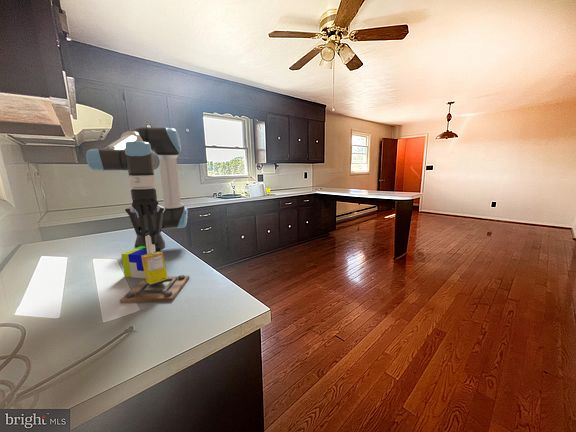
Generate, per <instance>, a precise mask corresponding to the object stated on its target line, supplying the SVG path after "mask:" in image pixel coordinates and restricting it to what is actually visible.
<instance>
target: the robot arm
mask: <svg viewBox="0 0 576 432" xmlns="http://www.w3.org/2000/svg"><path fill="white" fill-rule="evenodd" d="M181 143H182V142H181V138H180V135H179V133H178V130H176V129H175V128H170V127H153V126H152V127H150V126H148V127H147V126H140V127H135V128H132V129H129V130H126V131H124V132H123V133H122V134H121V135H120V138H119V139H117V140H115V141H113V142H112V143H110V144H109V145H107V146H106V147H104V148H90V149H88V150H87V151H86V154H85V159H86V163H87V166H88V167H89V168H90V169H91V170H92V171H103V172H106V171H107V172H110V171H119V172H120V171H128V179H129V186H130V188H132V189H130V194H131V200H132V202H131V206H129V207H128V208H125V213H126V214H127V215H128V217H129V220H130V222H131V224H132V227H133V229H134V231H135V234H136V239H135V242H134V247H133V249H135V248H137V247H140V246H145V247H146V248H147V254H153V253H154V252H155V251H156V250H155V247H158V248H160V250H162V249H165V247H166V241H165V239H164V238H163V236H162V230H171V229H182V228H186V226H187V223H188V213H189V211H188V207H185V204H184V203H183V202H182V199H181V191H180V183H179V181H180V180H179V171H178V164H177V163H178V162H177V158H178V157H179V156H180V153H181V152H182V144H181ZM158 168H159V173H160V174H159V175H160V183H161V184H160V185H161V190H162V198H163V203H162V204H161V205H160V204H159V202H158V195H157V189H156V180H155V172H154V171H155V170H156V169H158Z"/></svg>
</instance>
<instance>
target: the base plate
mask: <svg viewBox="0 0 576 432" xmlns="http://www.w3.org/2000/svg"><path fill="white" fill-rule="evenodd" d="M167 279H168V281H166V282H163V283H160V284H157V285H154V286H149V285H147V283H146V278H142V280H141V281H140V282H138V283H137V284H136V285H135V286H134V287H133V288H131V290H129V291H128V292H127V293H126V294H125V295H124V296H123V297H121V298H120V299H119V304H132V303H134V304H135V303H156V302H157V303H159V302H161V303H162V302H163V303H164V302H173V301H174V300H175V299H176V297H177V296H178V294H179V293H180V292H181V290H182V289H183V288H184V286H185V285H186V284H187V283H188V281H189V279H190V275H185V274H181V275H169V276H168V275H167Z"/></svg>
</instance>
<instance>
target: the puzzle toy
mask: <svg viewBox="0 0 576 432" xmlns="http://www.w3.org/2000/svg"><path fill="white" fill-rule="evenodd" d="M155 250H156V251H155V252H161V249H160V248H158V247H155ZM155 252H154V253H155ZM146 254H147V248H146V247H145V246H140V247H137V248H133V249H130V250H127V251H125V252H122V253H121V261H122V268H123V275H124V277H127V278H134V279H136V278H137V279H144V278H145V273H144V268H143V263H142V257H141V256H142V255H146Z"/></svg>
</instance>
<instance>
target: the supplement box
mask: <svg viewBox="0 0 576 432" xmlns="http://www.w3.org/2000/svg"><path fill="white" fill-rule="evenodd" d="M141 257H142V263H143V268H144V273H145V278H146V283H147V285H149V286H154V285H157V284H160V283H163V282H166V281H168V279H167V276H168V275H167V273H168V272H167V268H166V264H165V258H164V253H163V252H162V251H160V252H155V253H153V254H146V255H142V256H141Z"/></svg>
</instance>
